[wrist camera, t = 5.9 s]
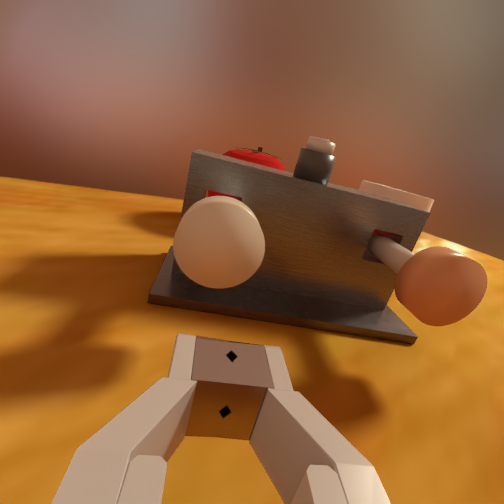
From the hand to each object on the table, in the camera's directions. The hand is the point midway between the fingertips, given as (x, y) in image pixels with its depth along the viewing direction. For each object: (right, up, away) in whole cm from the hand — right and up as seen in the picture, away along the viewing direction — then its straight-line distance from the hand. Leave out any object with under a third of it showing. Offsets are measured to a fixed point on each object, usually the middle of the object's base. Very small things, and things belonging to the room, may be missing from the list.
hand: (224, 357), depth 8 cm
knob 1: (-2, +3, +12) cm, 13 cm away
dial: (+6, +10, +18) cm, 21 cm away
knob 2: (+12, 0, +15) cm, 20 cm away
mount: (+4, -1, +20) cm, 20 cm away
